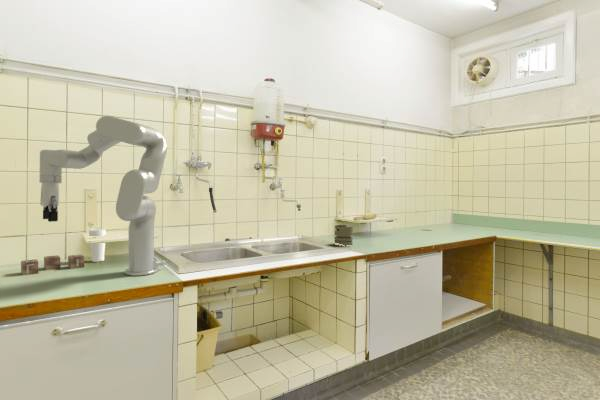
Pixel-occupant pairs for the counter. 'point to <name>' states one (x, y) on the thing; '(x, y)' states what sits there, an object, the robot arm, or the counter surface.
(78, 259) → the block one
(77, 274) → the counter surface
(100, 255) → the white cup
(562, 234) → the counter surface
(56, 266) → the plain block
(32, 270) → the block seven
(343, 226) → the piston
